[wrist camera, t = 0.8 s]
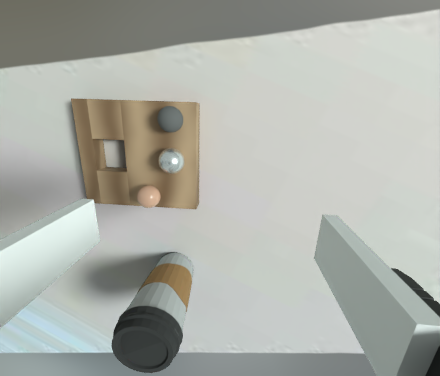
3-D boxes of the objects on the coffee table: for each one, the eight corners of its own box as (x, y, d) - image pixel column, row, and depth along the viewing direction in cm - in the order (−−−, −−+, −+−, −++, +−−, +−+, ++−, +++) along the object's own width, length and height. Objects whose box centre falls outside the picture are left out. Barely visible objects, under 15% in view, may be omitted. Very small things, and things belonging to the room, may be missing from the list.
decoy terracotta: (143, 202, 33) (133, 210, 30) (141, 182, 32) (131, 188, 29) (164, 203, 33) (156, 212, 30) (163, 183, 32) (155, 190, 29)
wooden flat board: (97, 197, 36) (87, 202, 34) (83, 100, 32) (70, 98, 29) (198, 203, 35) (196, 209, 33) (199, 103, 31) (196, 102, 28)
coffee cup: (145, 256, 39) (92, 335, 25) (184, 239, 38) (152, 313, 23) (169, 291, 41) (133, 382, 27) (207, 276, 39) (191, 365, 25)
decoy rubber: (162, 131, 30) (154, 132, 27) (161, 106, 29) (152, 104, 26) (186, 132, 30) (180, 133, 27) (185, 107, 29) (179, 105, 26)
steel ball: (163, 170, 31) (155, 175, 28) (162, 146, 30) (153, 149, 27) (187, 171, 31) (181, 177, 28) (186, 147, 30) (180, 150, 27)
